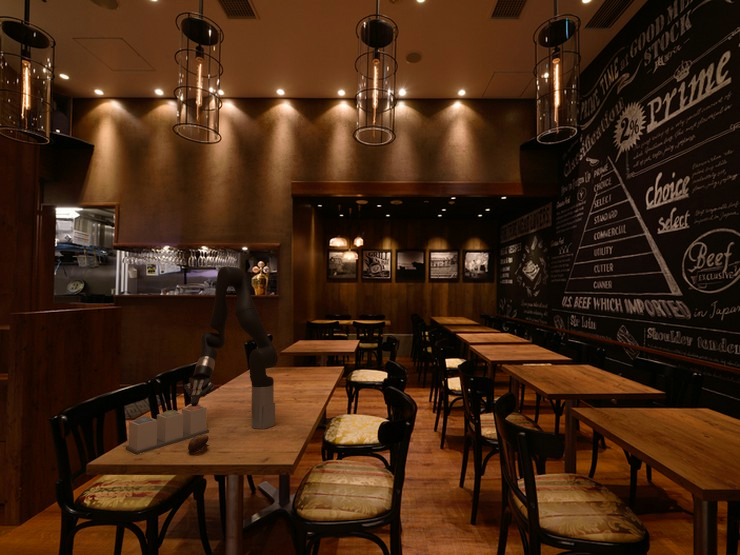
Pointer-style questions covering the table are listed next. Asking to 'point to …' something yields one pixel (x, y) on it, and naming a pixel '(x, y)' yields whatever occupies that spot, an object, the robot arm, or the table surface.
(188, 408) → the terracotta button
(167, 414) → the sage button
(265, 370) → the robot arm
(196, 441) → the mushroom
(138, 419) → the slate button
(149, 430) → the button stand
